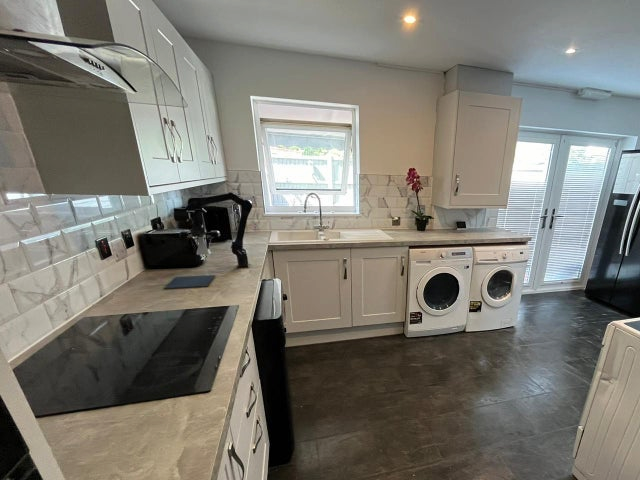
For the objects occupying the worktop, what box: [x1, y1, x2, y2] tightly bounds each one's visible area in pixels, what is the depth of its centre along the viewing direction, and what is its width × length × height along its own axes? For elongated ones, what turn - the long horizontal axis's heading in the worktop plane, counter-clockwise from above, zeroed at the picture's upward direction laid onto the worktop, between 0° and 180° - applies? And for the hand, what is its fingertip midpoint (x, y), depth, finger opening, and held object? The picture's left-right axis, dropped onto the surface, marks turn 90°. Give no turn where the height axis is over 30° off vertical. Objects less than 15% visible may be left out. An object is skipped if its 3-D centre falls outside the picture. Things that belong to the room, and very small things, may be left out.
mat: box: [164, 274, 216, 290], centre depth 163 cm, size 18×18×1 cm
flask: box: [196, 236, 212, 256], centre depth 180 cm, size 7×7×10 cm
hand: (203, 249), depth 181 cm, fingers closed on flask, 5 cm apart
